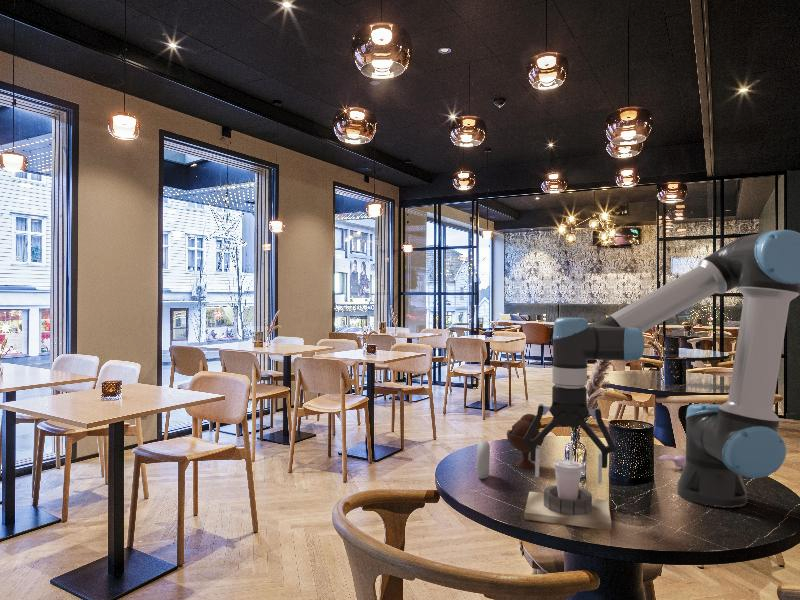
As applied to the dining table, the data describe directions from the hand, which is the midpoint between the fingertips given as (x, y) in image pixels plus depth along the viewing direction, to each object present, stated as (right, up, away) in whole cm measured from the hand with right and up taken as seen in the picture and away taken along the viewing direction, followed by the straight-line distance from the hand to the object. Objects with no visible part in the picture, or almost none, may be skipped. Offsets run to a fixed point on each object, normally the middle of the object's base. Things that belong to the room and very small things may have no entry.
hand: (567, 478), depth 129 cm
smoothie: (0, -7, 0) cm, 7 cm away
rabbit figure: (+44, -8, +33) cm, 56 cm away
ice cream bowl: (-2, -8, +35) cm, 36 cm away
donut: (-16, -8, +24) cm, 30 cm away
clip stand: (0, -8, 0) cm, 8 cm away
